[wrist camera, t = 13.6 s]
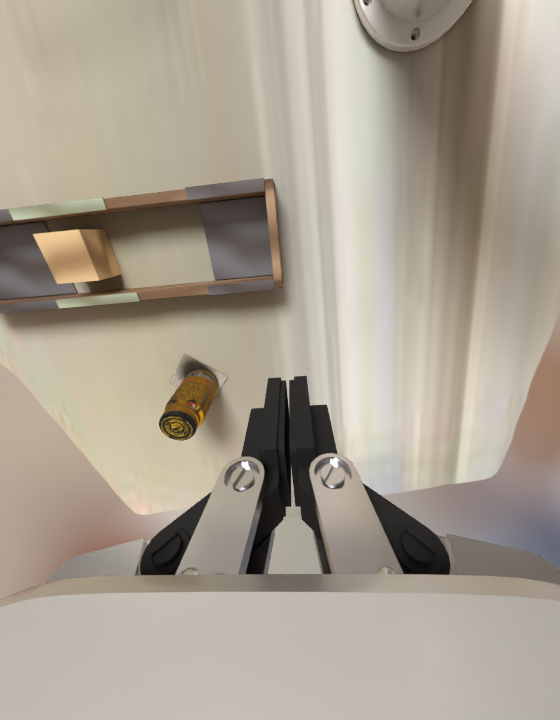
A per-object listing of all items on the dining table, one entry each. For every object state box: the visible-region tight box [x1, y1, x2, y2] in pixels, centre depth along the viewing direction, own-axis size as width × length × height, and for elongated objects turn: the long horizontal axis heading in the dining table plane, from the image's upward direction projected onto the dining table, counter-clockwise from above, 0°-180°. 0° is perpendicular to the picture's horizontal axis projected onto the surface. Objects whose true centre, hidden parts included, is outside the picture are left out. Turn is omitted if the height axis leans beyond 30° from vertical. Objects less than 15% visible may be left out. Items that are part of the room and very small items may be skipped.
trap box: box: [0, 178, 283, 313], centre depth 34 cm, size 12×46×4 cm, turn 95°
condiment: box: [159, 354, 227, 440], centre depth 40 cm, size 7×8×12 cm
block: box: [33, 229, 121, 284], centre depth 34 cm, size 6×6×5 cm
